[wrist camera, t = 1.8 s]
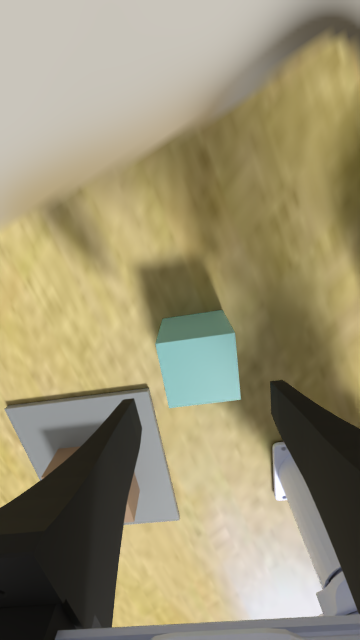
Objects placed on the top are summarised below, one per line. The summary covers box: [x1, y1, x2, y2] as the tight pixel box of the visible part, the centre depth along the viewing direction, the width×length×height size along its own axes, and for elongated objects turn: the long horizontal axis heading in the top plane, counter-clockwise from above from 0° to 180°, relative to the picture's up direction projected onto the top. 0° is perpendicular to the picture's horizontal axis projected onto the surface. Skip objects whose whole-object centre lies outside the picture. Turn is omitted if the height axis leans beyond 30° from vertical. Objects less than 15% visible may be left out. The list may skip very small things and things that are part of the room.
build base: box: [5, 388, 180, 525], centre depth 23 cm, size 14×18×4 cm
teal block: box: [156, 310, 241, 408], centre depth 17 cm, size 5×5×5 cm
